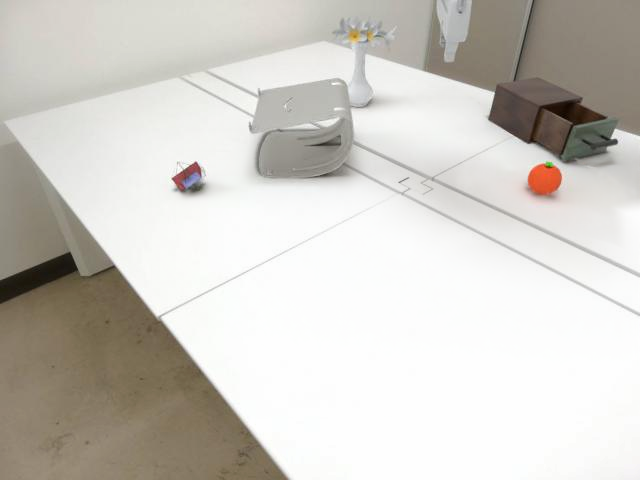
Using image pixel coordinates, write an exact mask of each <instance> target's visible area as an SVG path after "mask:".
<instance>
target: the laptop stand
mask: <svg viewBox="0 0 640 480" xmlns="http://www.w3.org/2000/svg"><path fill="white" fill-rule="evenodd" d="M347 84H348V83H347V82H346V80H344V79H343V78H340V77H334V78H328V79H322V80H315V81H309V82H304V83H297V84H292V85H285V86H280V87H273V88H267V89H263V90H260V87H258V88H257V95H258V99H257V103H256V107H255V112H254V115H253V118H252V122H251V121H248V130H249V133H250V134H252V135H254V134H255V135H256V134H260V133H265V132H266V133H267V132H271V133H269V134H267V135H266V137H265V138H264V140H263V142H262V145H261V147H260V150H259V154H258V169H259V173H260V175H261V176H263V177H265V178H269V179H270V178H272V179H305V178H312V177H318V176H322V175H325V174H329V173H330V172H333V171H335V170H337V169H338V168H340V167H341V166H342V165H343V164H344V163H345V162H346V160H347V159H348V158H349V156H350V155H351V152H352V148H353V145H354V140H355V127H354V120H353V114H352V108H351V107H352V106H351V105H350V99H349V92H348V86H347ZM334 119H338V120H336V122H335V123H333V124H331V125H329V126H327V127H324V128H321V129H316V130H311V131H310V130H309V131H277V130H281V129H287V128H291V127H297V126H301V125H302V126H303V125H308V124H312V123H318V122H322V121H328V120H334ZM275 130H276V132H272V131H275ZM339 136H340V141H341V144H340V145H322V144H324V143H328V142H329V141H332V140H334V139H336V138H338V137H339ZM320 144H321V145H320Z"/></svg>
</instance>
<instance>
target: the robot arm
mask: <svg viewBox="0 0 640 480" xmlns="http://www.w3.org/2000/svg"><path fill="white" fill-rule="evenodd" d="M472 4H473V0H436V16H437V19H438V22H439V25H440V33H439V34H440V35H439V47H441V48H445V49H444V55H443V60H444V62H445V63H453V62H455V59H456V58H455V57H456V52H457V50H458V47H459V45H460V43H463V42H465V41H467V38H468V35H469V27H470V20H471V14H472Z"/></svg>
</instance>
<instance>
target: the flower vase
mask: <svg viewBox="0 0 640 480" xmlns="http://www.w3.org/2000/svg"><path fill="white" fill-rule="evenodd" d="M350 19H351V17H350V16H349V17H347V19H346V20H345V18H344V17H342V18H341V19H340V21H339V28H335V29H334V30H333V31H332V32H331V35H335V36H334V37H333V41H335V40H337V39H338V38H340V37H341V39H340V43H341V44H348V43H350V49H351V51H353V52H354V56H355V57H354V68H353V74H352V77H351V80H350V81H349V83H346V84H347V86H348V92H349V99H350V107H354V108H362V107H365V106H367V105H368V103H369V102H370V101H371V100H372V99H373V97H374V90H373V87H372V86H371V84H370V83H369V82H368V80H367V77H366V53H367V48H368V44H369V43H370V45H371V47H372V48H373V49H375V48H376V45H378V46H381V45H382V42H381V40H382V39H384V43H385V45H386V49H387V53H388V54H389V53H390V50H391V44H393V43H395V35H394V34H395V31H396V29H397V27H398V25H395V26H394V27H393V29H391V30H390V31H389V32H387V31H386V30H384V29H381V28H382V27H383V21H382V19H378V20H377V21H376V22H375V20H374V18H373V17H372V16H368V20H366V21H363V22H362V21H361V18H360V17H359V15H358V14H356V15H354V17H353V20H352V21H353V24H350Z"/></svg>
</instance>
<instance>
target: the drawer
mask: <svg viewBox="0 0 640 480" xmlns="http://www.w3.org/2000/svg"><path fill="white" fill-rule="evenodd" d="M619 121H620V119H619V118H617V117H611V118H610V117H609V115H606V114H603V113H602V112H599V111H597V110H595V109H593V108H591V107H589V106H586V105H585V104H582V103H581V104H580V103H578V102H571V103H565V104H560V105H555V106H550V107H545V108H541V109H540V112H539V116H538V119H537V122H536V125H535V128H534V132H533V135H532V139H534V140H536V141H537V142H536V143H539V144H541V145H542V146H544V147H546V148H547V149H549V150H551V151H552V152H554V153H556V154H558V155H560V156H561V155H562V156H561V158H560V159H561V160H562V161H564V162H567V161H571V160H576V159H579V158H583V157H588V156H591V155H597V154H600V153H604V152H606V151H607V148H609V147H613V146H617V145H618V144H619V140H618V139H617V138H612V137H613V135H614V132H615V130H616V128H617V126H618V124H619Z"/></svg>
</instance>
